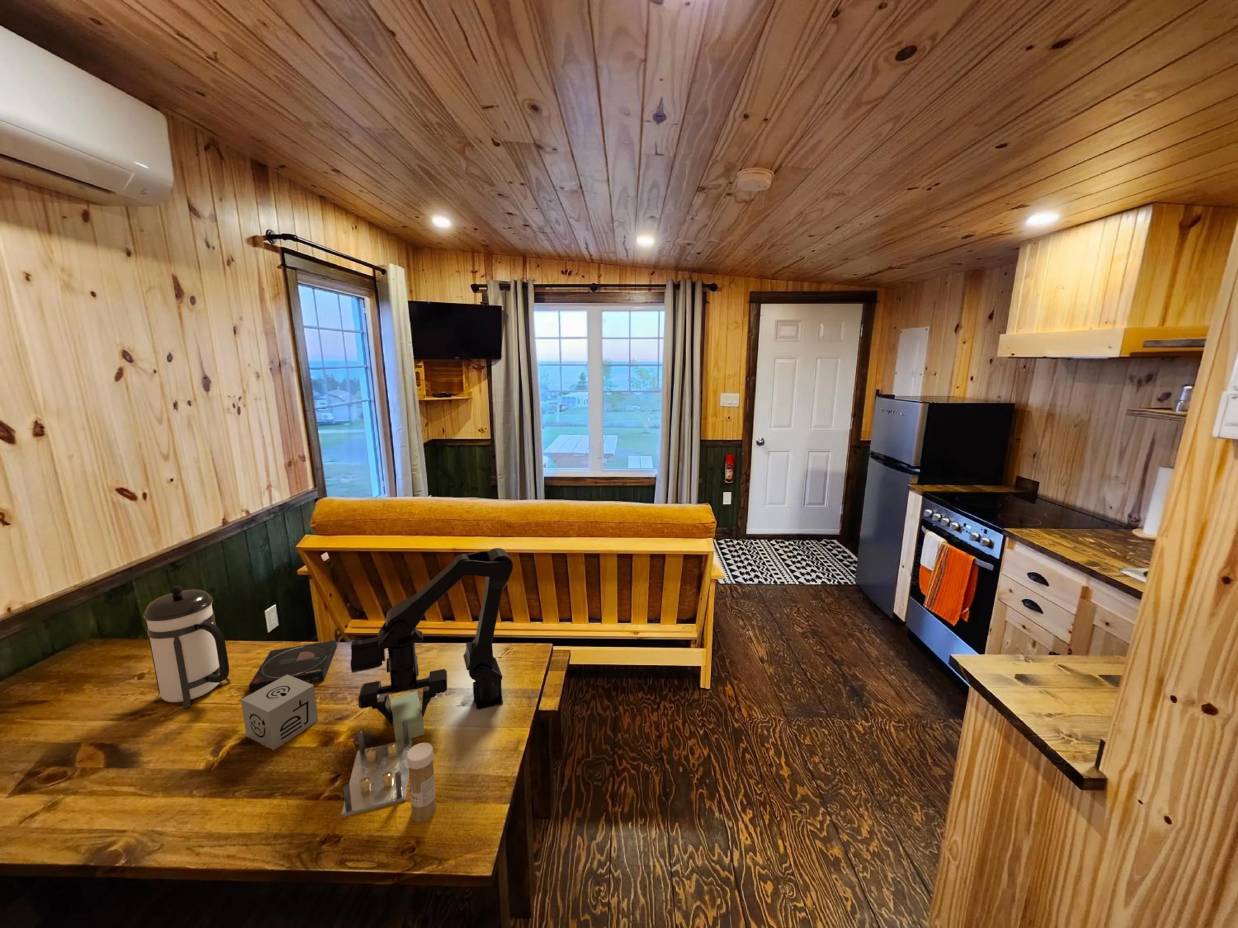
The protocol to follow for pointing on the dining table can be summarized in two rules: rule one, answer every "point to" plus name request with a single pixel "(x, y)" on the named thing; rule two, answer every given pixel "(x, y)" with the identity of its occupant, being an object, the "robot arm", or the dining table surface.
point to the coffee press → (186, 645)
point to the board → (407, 715)
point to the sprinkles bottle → (421, 781)
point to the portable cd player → (295, 664)
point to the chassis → (378, 776)
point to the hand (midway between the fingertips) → (407, 719)
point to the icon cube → (279, 711)
